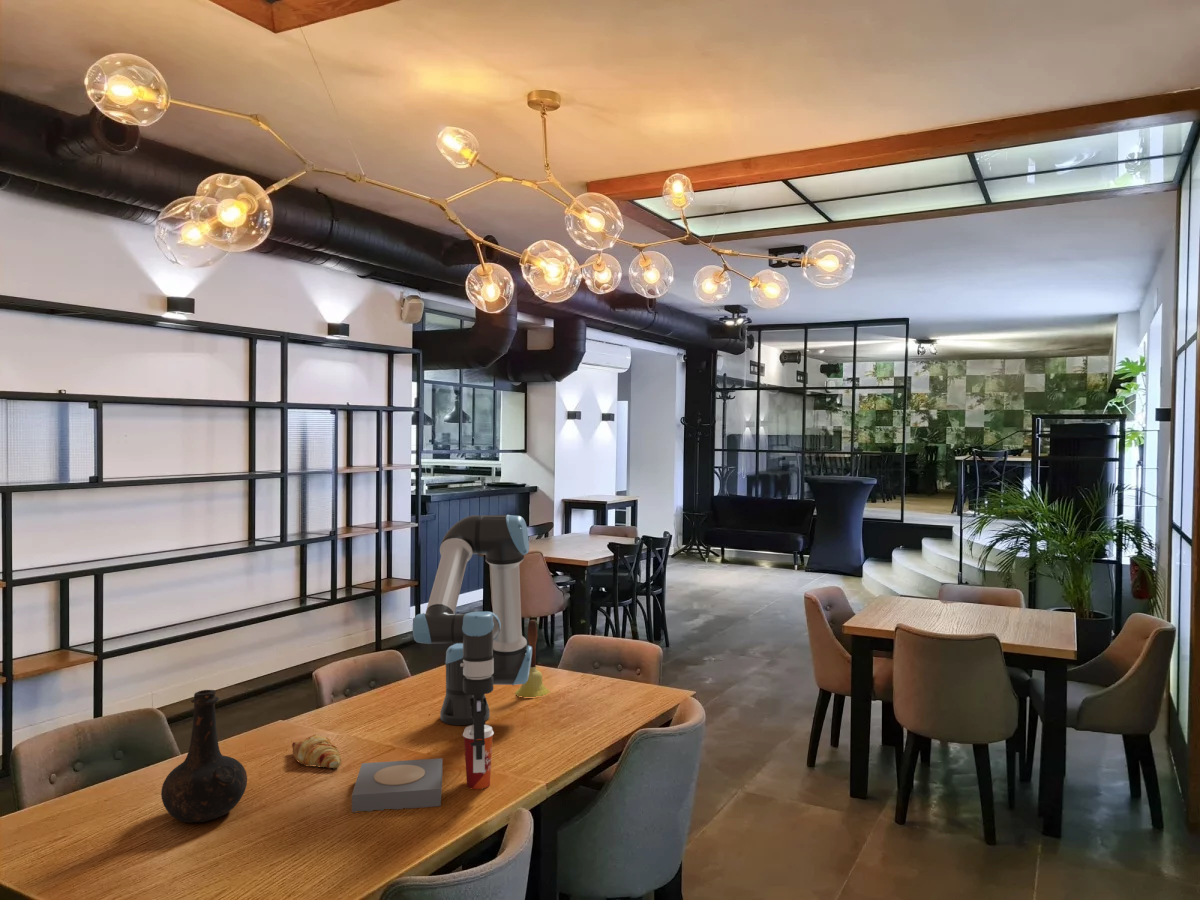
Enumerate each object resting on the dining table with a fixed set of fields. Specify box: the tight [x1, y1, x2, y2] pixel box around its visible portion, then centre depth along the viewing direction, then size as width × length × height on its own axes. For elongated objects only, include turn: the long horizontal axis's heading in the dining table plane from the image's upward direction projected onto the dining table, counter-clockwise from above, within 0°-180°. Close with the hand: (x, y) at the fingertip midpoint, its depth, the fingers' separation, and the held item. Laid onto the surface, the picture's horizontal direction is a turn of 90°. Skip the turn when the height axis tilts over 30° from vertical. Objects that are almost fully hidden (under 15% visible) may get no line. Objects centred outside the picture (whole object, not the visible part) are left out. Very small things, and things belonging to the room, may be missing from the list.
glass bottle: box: [161, 689, 248, 823], centre depth 191 cm, size 18×18×28 cm
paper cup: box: [462, 724, 495, 790], centre depth 207 cm, size 8×8×14 cm
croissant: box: [291, 734, 342, 769], centre depth 224 cm, size 21×10×8 cm, turn 52°
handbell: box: [514, 619, 551, 697], centre depth 286 cm, size 12×12×25 cm
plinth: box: [351, 757, 443, 813], centre depth 203 cm, size 20×20×4 cm
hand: (478, 762), depth 207 cm, fingers open, 13 cm apart
